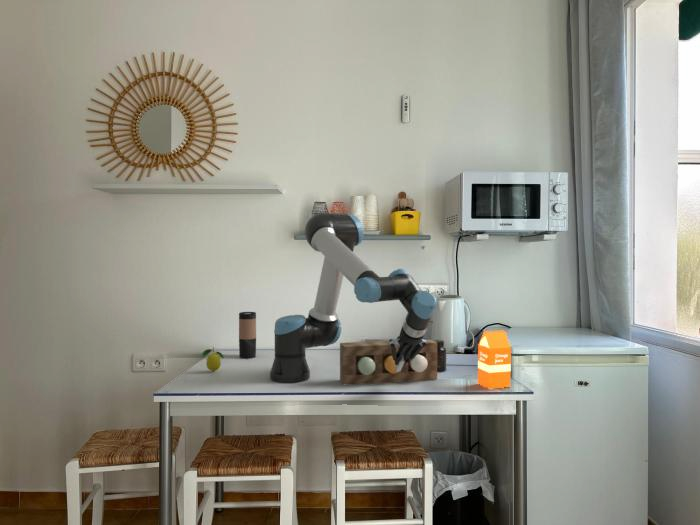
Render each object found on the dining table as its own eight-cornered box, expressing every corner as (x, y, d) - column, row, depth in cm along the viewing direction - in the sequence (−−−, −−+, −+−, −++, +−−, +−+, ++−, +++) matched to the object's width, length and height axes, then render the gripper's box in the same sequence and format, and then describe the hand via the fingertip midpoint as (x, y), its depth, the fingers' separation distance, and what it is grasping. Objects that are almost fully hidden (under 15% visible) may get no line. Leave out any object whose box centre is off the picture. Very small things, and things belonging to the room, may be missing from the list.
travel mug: (258, 355, 235) (258, 311, 234) (253, 359, 228) (253, 314, 227) (241, 354, 236) (241, 311, 235) (236, 358, 228) (236, 313, 228)
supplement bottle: (428, 367, 213) (428, 339, 212) (444, 368, 212) (445, 339, 212) (430, 372, 206) (430, 342, 205) (447, 372, 205) (447, 342, 205)
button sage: (359, 375, 184) (359, 358, 184) (357, 373, 187) (357, 357, 187) (375, 374, 186) (375, 358, 185) (373, 372, 188) (373, 356, 188)
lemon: (201, 372, 203) (201, 347, 203) (212, 369, 208) (211, 345, 208) (214, 374, 200) (214, 349, 200) (224, 371, 205) (224, 346, 205)
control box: (343, 384, 186) (343, 346, 186) (339, 379, 193) (340, 342, 193) (437, 379, 194) (437, 342, 194) (430, 375, 201) (430, 339, 200)
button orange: (385, 373, 186) (386, 357, 186) (383, 371, 189) (383, 355, 189) (401, 373, 188) (401, 356, 187) (399, 371, 191) (399, 355, 190)
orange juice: (510, 387, 184) (511, 332, 183) (488, 389, 181) (489, 333, 180) (498, 382, 191) (499, 328, 190) (477, 383, 188) (478, 329, 188)
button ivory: (412, 372, 189) (412, 356, 188) (409, 370, 191) (409, 354, 191) (427, 371, 190) (427, 355, 190) (424, 369, 193) (424, 353, 193)
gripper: (396, 339, 162) (381, 378, 179) (435, 338, 165) (417, 376, 182) (392, 320, 167) (377, 360, 184) (429, 319, 170) (412, 358, 187)
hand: (397, 368), depth 183 cm, fingers closed
